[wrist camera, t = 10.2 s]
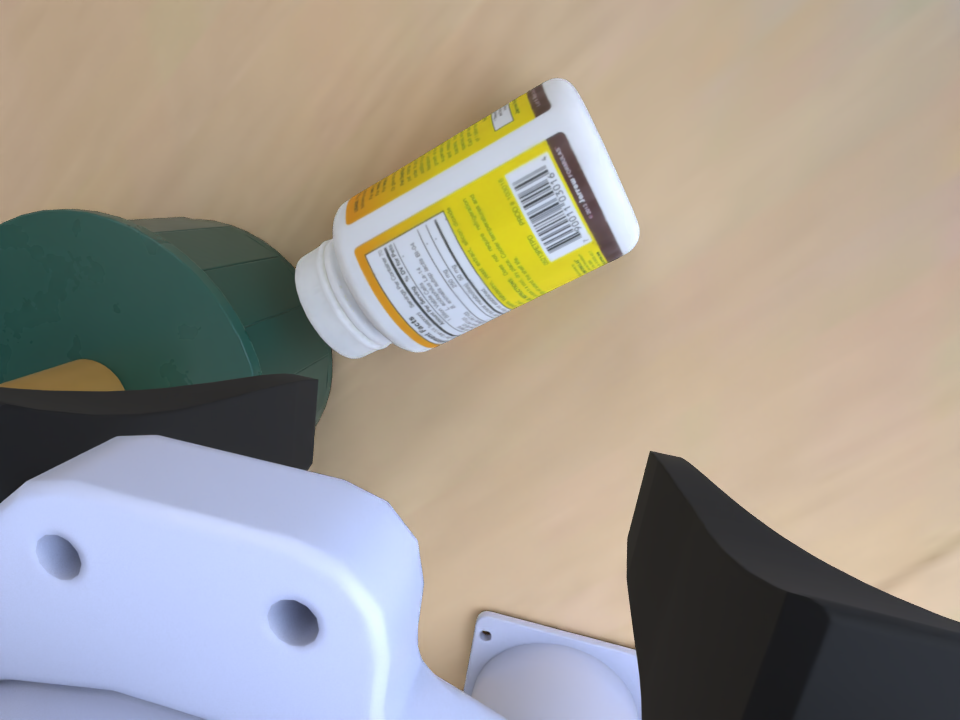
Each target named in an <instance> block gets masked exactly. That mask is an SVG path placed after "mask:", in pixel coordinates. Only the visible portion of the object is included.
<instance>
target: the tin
mask: <svg viewBox="0 0 960 720" xmlns="http://www.w3.org/2000/svg"><path fill="white" fill-rule="evenodd" d="M128 221H130V222H133V223H135V224H138V225H140V226H142V227H144V228H146V229H148V230H150V231H151V232H153V233H155V234H157V235H158V236H160V237H162V238H164V239H165V240H167V241H168V242H169V243H171V244H172V245H173V246H175V247H176V248H178V249H179V250H180V251H182V252H183V253H184V254H186V255H187V256H188V257H189V258H190V259H191V260H192V261H193V262H194V263H195V264H196V265H198V266H199V267H200V268H201V269H202V270H203V271H204V272H205V273H206V274H207V275H208V277H209V278H210V279H211V280H212V281H213V282H214V284H215V285H216V286H217V287H218V288H219V289H220V291H221V292H222V293H223V294H224V296H225V297H226V299H227V300H228V302H229V303H230V305H231V306H232V308H233V309H234V311H235V312H236V313H237V315H238V317H239V319H240V321H241V323H242V324H243V326H244V328H245V330H246V332H247V334H248V336H249V338H250V340H251V343H252V345H253V348H254V350H255V353H256V355H257V358H258V360H259V364H260V368H261V371H262V375H268V374H284V373H285V374H296V375H300V376H305V377H310V378H314V379H319V381H318V394H317V408H316V421H315V426H316V425H317V423H318V422H319V420H320V418H321V415H322V413H323V411H324V409H325V406H326V403H327V400H328V396H329V393H330V387H331V380H332V353H331V347H330V346H329V345H328V344H327V343H326V342H325V341H324V340H323V339H322V338H321V337H320V336H319V334H318V333H317V331H316V330H315V329H314V327H313V326H312V324H311V323H310V321H309V319H308V318H307V316H306V314H305V311H304V309H303V307H302V305H301V303H300V300H299V297H298V293H297V290H296V284H295V269H294V267H293V266H292V265H291V264H290V263H289V262H288V261H287V260H286V259H285V258H284V257H283V256H282V255H281V254H280V253H278V252H277V251H276V250H275V249H273V248H272V247H271V246H269V245H268V244H267V243H265V242H264V241H263V240H261V239H259V238H257V237H256V236H254V235H252V234H250V233H249V232H247V231H244V230H242V229H239V228H237V227H235V226H232V225H229V224H225V223H221V222H217V221H211V220H202V219H190V218H185V217H174V218H154V219H135V220H128Z"/></svg>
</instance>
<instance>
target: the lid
mask: <svg viewBox="0 0 960 720" xmlns="http://www.w3.org/2000/svg"><path fill="white" fill-rule="evenodd" d="M259 375H262V371H261V368H260V364H259V360H258V358H257V355H256V353H255V350H254V348H253V345H252V343H251V340H250V338H249V336H248V334H247V332H246V330H245V328H244V326H243V324H242V323H241V321H240V319H239V317H238V315H237V313H236V312H235V311H234V309H233V308H232V306H231V305H230V303H229V302H228V300H227V299H226V297H225V296H224V294H223V293H222V292H221V291H220V289H219V288H218V287H217V286H216V285H215V284H214V282H213V281H212V280H211V279H210V278H209V277H208V275H207V274H206V273H205V272H204V271H203V270H202V269H201V268H200V267H199V266H198V265H196V264H195V263H194V262H193V261H192V260H191V259H190V258H189V257H188V256H187V255H186V254H184V253H183V252H182V251H180V250H179V249H178V248H176V247H175V246H173V245H172V244H171V243H169V242H168V241H167V240H165V239H164V238H162V237H160V236H158V235H157V234H155V233H153V232H151V231H150V230H148V229H146V228H144V227H142V226H140V225H138V224H135V223H133V222H130V221H128V220H125V219H123V218H120V217H117V216H113V215H109V214H105V213H101V212H98V211H89V210H80V209H59V210H42V211H37V212H33V213H28V214H24V215H21V216H18V217H16V218H13V219H11V220H8V221H6V222H4V223H2V224H0V387H5V388H17V389H33V390H54V391H125V390H144V389H157V388H168V387H176V386H185V385H193V384H201V383H209V382H217V381H223V380H230V379H237V378H244V377H251V376H259Z"/></svg>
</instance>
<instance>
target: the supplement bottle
mask: <svg viewBox="0 0 960 720" xmlns="http://www.w3.org/2000/svg"><path fill="white" fill-rule="evenodd" d="M638 239H639V225H638V222H637V219H636V217H635V214H634V212H633V209H632V207H631V205H630V202H629V200H628V198H627V195H626V193H625V191H624V188H623V186H622V184H621V182H620V179H619V177H618V175H617V173H616V170H615V168H614V166H613V164H612V161H611V159H610V157H609V155H608V153H607V150H606V148H605V146H604V144H603V142H602V139H601V137H600V135H599V133H598V131H597V129H596V127H595V125H594V123H593V121H592V118H591V116H590V114H589V112H588V110H587V108H586V106H585V105H584V103H583V101H582V99H581V97H580V95H579V94H578V92H577V90H576V89H575V87H574V86H573V85H572V84H571V83H570V82H569V81H567V80H565V79H561V78H554V79H550V80H548V81H545V82H544V83H542V84H540V85H539V86H537V87H535V88H533V89H532V90H530V91H528V92H527V93H525V94H524V95H522V96H520V97H518V98H517V99H515V100H513V101H512V102H510V103H508V104H506V105H505V106H503V107H502V108H500V109H498V110H497V111H495V112H493V113H492V114H490V115H489V116H487V117H485V118H484V119H482V120H480V121H479V122H477V123H475V124H474V125H472V126H470V127H469V128H467V129H465V130H464V131H462V132H460V133H458V134H457V135H455V136H454V137H452V138H450V139H449V140H447V141H445V142H444V143H442V144H440V145H439V146H437V147H436V148H434V149H432V150H431V151H429V152H427V153H426V154H424V155H422V156H421V157H419V158H417V159H416V160H414V161H412V162H411V163H409V164H407V165H406V166H404V167H402V168H401V169H399V170H397V171H396V172H394V173H392V174H391V175H389V176H387V177H386V178H384V179H382V180H381V181H379V182H377V183H375V184H374V185H372V186H370V187H369V188H367V189H366V190H364V191H362V192H360V193H359V194H357V195H355V196H354V197H352V198H351V199H349V200H348V201H346V202H345V203H344V204H342V205H341V207H340V208H339V209H338V211H337V213H336V216H335V218H334V223H333V238H332V239H331V240H327V241H325V242H323V243H322V244H321V245H320V246H319V247H318V248H316V249H314V250H313V251H311V252H310V253H308V254H306V255H305V256H303V257H302V258H301V259H300V260H299V261H298V263H297V266H296V269H295V284H296V290H297V293H298V297H299V300H300V303H301V305H302V307H303V309H304V311H305V314H306V316H307V318H308V319H309V321H310V323H311V324H312V326H313V327H314V329H315V330H316V331H317V333H318V334H319V336H320V337H321V338H322V339H323V340H324V341H325V342H326V343H327V344H328V345H329V346H330V347H331V348H332V349H333V350H335V351H336V352H338V353H339V354H341V355H343V356H345V357H347V358H352V359H357V358H361V357H364V356H366V355H368V354H370V353H372V352H374V351H377V350H379V349H384V348H386V347H387V346H388V345H389V344H391V343H393V344H395V345H397V346H398V347H400V348H402V349H405V350H407V351H411V352H424V351H428V350H430V349H433V348H435V347H437V346H439V345H441V344H443V343H445V342H447V341H449V340H451V339H453V338H455V337H457V336H459V335H461V334H464V333H466V332H468V331H470V330H472V329H474V328H476V327H478V326H480V325H482V324H484V323H486V322H488V321H490V320H492V319H494V318H496V317H498V316H500V315H503V314H505V313H506V312H508V311H510V310H512V309H515V308H517V307H519V306H521V305H523V304H525V303H527V302H529V301H531V300H533V299H535V298H537V297H539V296H541V295H543V294H545V293H547V292H549V291H551V290H554V289H556V288H558V287H560V286H562V285H564V284H566V283H568V282H570V281H572V280H574V279H576V278H578V277H580V276H582V275H584V274H586V273H588V272H590V271H592V270H594V269H597V268H599V267H601V266H603V265H605V264H607V263H609V262H611V261H613V260H615V259H618V258H619V257H621V256H623V255H624V254H626V253H628V252H629V251H631V250H632V249H633V248H634V246H635V245H636V243H637V241H638Z"/></svg>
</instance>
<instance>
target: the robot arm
mask: <svg viewBox="0 0 960 720" xmlns="http://www.w3.org/2000/svg"><path fill="white" fill-rule="evenodd" d="M318 381H319V379H314V378H310V377H305V376H300V375H296V374H285V373H284V374H268V375H259V376H251V377H244V378H237V379H230V380H223V381H217V382H209V383H201V384H193V385H185V386H176V387H168V388H157V389H144V390H125V391H54V390H33V389H17V388H5V387H0V720H960V622H957V621H954V620H952V619H949V618H946V617H943V616H941V615H938V614H935V613H933V612H931V611H928V610H926V609H923V608H921V607H919V606H916V605H914V604H911V603H909V602H906V601H904V600H902V599H899V598H897V597H894V596H892V595H890V594H888V593H886V592H883V591H881V590H879V589H877V588H875V587H872V586H870V585H868V584H866V583H864V582H862V581H860V580H858V579H856V578H854V577H852V576H850V575H848V574H846V573H844V572H842V571H840V570H838V569H837V568H835V567H833V566H831V565H829V564H827V563H825V562H824V561H822V560H820V559H818V558H816V557H815V556H813V555H811V554H810V553H808V552H806V551H805V550H803V549H801V548H800V547H798V546H797V545H795V544H793V543H792V542H790V541H789V540H787V539H785V538H784V537H782V536H781V535H779V534H778V533H776V532H775V531H773V530H772V529H771V528H769V527H768V526H766V525H765V524H764V523H762V522H761V521H760V520H758V519H757V518H756V517H754V516H753V515H752V514H750V513H749V512H748V511H746V510H745V509H744V508H743V507H741V506H740V505H739V504H738V503H736V502H735V501H734V500H733V499H731V498H730V497H729V496H728V495H727V494H725V493H724V492H723V491H722V490H721V489H720V488H718V487H717V486H716V485H715V484H714V483H713V482H711V481H710V480H709V479H708V478H707V477H706V476H705V475H703V474H702V473H701V472H700V471H699V470H698V469H696V468H695V467H694V466H693V465H691V464H690V463H689V462H687V461H686V460H684V459H683V458H680V457H676V456H671V455H666V454H662V453H657V452H653V451H650V453H649V457H648V461H647V465H646V469H645V472H644V476H643V480H642V484H641V488H640V492H639V496H638V499H637V503H636V507H635V511H634V515H633V519H632V523H631V527H630V530H629V534H628V539H627V585H628V594H629V602H630V610H631V617H632V625H633V632H634V640H635V647H636V650H635V649H631V648H627V647H623V646H619V645H616V644H612V643H608V642H604V641H600V640H597V639H593V638H589V637H585V636H581V635H578V634H574V633H570V632H566V631H562V630H559V629H555V628H551V627H547V626H544V625H540V624H536V623H532V622H528V621H525V620H521V619H517V618H513V617H509V616H506V615H502V614H498V613H494V612H490V611H484V612H481V613H480V614H479V615H478V618H477V621H476V625H475V631H474V636H473V642H472V647H471V653H470V659H469V664H468V670H467V675H466V681H465V686H464V692H463V691H461V690H459V689H458V688H456V687H454V686H453V685H451V684H450V683H448V682H446V681H445V680H443V679H441V678H440V677H438V676H437V675H435V674H434V673H433V672H432V671H431V670H430V669H429V668H428V666H427V665H426V664H425V663H424V661H423V660H422V658H421V655H420V652H419V648H418V622H419V615H420V608H421V601H422V595H423V588H424V580H423V573H422V566H421V560H420V553H419V546H418V540H417V539H416V538H415V536H414V535H413V534H412V533H411V531H410V530H409V529H408V527H407V526H406V525H405V523H404V522H403V521H402V519H401V518H400V517H399V516H398V514H397V513H396V512H395V510H394V509H393V508H392V506H391V505H390V504H389V502H387V501H385V500H383V499H381V498H379V497H377V496H375V495H373V494H371V493H369V492H367V491H365V490H363V489H361V488H359V487H358V486H356V485H354V484H352V483H350V482H348V481H346V480H343V479H339V478H335V477H331V476H326V475H322V474H318V473H314V472H310V471H307V470H308V469H309V467H310V466H311V464H312V461H313V448H314V435H315V421H316V408H317V394H318ZM482 631H487V632H489V633H490V635H486V634H484V633H483V632H482Z"/></svg>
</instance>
